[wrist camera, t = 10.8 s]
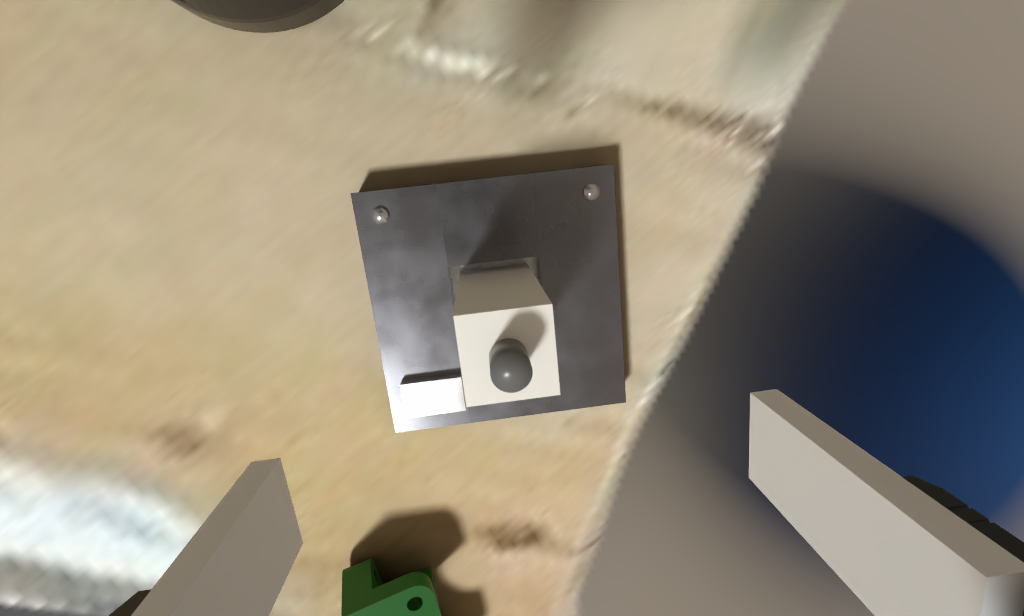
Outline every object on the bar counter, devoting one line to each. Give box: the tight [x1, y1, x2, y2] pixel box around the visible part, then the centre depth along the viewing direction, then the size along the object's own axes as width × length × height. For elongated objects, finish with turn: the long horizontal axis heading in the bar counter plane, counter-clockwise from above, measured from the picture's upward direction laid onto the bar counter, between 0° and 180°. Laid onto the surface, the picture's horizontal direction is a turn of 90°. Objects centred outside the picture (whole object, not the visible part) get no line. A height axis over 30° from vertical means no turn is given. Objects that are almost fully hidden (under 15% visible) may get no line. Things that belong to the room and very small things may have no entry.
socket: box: [351, 164, 626, 433], centre depth 32 cm, size 16×16×3 cm
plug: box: [453, 264, 560, 407], centre depth 27 cm, size 4×4×13 cm
